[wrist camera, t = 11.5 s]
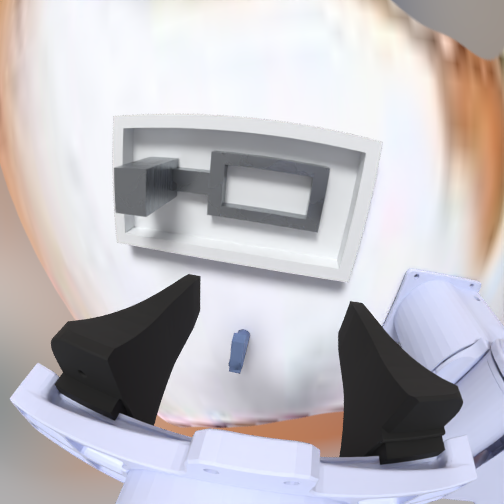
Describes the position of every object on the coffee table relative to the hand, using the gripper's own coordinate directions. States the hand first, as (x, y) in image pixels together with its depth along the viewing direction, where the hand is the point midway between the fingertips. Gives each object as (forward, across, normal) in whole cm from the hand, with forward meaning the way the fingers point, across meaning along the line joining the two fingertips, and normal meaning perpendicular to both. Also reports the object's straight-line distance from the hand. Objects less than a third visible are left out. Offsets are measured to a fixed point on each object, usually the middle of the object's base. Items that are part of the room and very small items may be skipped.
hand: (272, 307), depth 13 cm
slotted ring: (+9, +4, -3) cm, 10 cm away
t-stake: (+9, +2, +11) cm, 15 cm away
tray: (+9, +4, -3) cm, 11 cm away
